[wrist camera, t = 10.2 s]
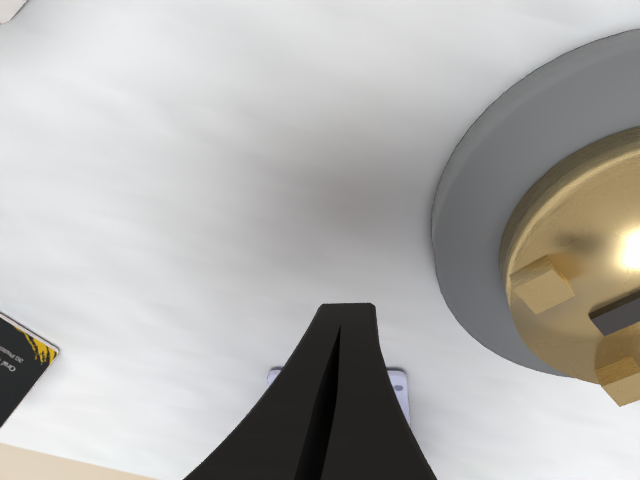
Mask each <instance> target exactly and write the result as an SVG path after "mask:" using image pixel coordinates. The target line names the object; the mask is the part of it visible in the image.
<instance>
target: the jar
mask: <svg viewBox="0 0 640 480" xmlns="http://www.w3.org/2000/svg"><path fill="white" fill-rule="evenodd" d="M26 1H27V0H0V24H2V23H6V22H8V21H10V19H11V18H12V17H13V16H14V15H15V14H16V13H17V12H18V10H19V9H20V8H21V7H22V6H23V5H24V4H25V3H26Z"/></svg>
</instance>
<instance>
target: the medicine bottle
mask: <svg viewBox="0 0 640 480" xmlns="http://www.w3.org/2000/svg"><path fill="white" fill-rule="evenodd" d="M58 353H59V351H58V349H57V348H56V347H54V346H53V345H51V344H49V343H48V342H46V341H44V340H43V339H41V338H40V337H38V336H36V335H35V334H33V333H31V332H30V331H28V330H27V329H25V328H23V327H22V326H20V325H18V324H17V323H15V322H13V321H12V320H10V319H9V318H7V317H5V316H4V315H2V314H0V429H1V428H2V427H3V425H4V424H5V423H6V422H7V420H8V419H9V418H10V416H11V415H12V414H13V413H14V411H15V410H16V409H17V407H18V406H19V405H20V404H21V402H22V401H23V400H24V398H25V397H26V396H27V395H28V393H29V392H30V391H31V389H32V388H33V387H34V386H35V384H36V383H37V382H38V380H39V379H40V378H41V377H42V375H43V374H44V373H45V371H46V370H47V369H48V368H49V366H50V365H51V364H52V362H53V361H54V360H55V359H56V357H57V356H58Z"/></svg>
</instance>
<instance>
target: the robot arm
mask: <svg viewBox="0 0 640 480" xmlns="http://www.w3.org/2000/svg"><path fill="white" fill-rule="evenodd" d="M267 380H268V384H269V388H268V389H267V390H266V392H265V393H264V394H263V396H262V397H261V398H260V400H259V401H258V402H257V403H256V405H255V406H254V407H253V408H252V409H251V411H250V412H249V413H248V414H247V415H246V417H245V418H244V419H243V420H242V421H241V422H240V423H239V425H238V426H237V427H236V428H235V429H234V430H233V431H232V432H231V433H230V434H229V435H228V436H227V438H226V439H225V440H224V441H223V442H222V443H221V444H220V445H219V446H218V447H217V448H216V449H215V450H214V451H213V452H212V453H211V454H210V455H209V456H208V457H207V458H206V459H205V460H204V461H203V462H202V463H201V464H200V465H199V466H198V467H196V468H195V469H194V470H193V471H192V472H191V473H190V474H189V475H188V476H186V477H185V478H184V479H183V480H437V478H436V476H435V475H434V473H433V471H432V469H431V468H430V466H429V464H428V462H427V460H426V459H425V457H424V455H423V453H422V451H421V449H420V447H419V445H418V443H417V441H416V439H415V437H414V435H413V433H412V431H411V429H410V416H409V401H408V386H407V376H406V374H405V373H403V372H401V371H387V369H386V366H385V362H384V359H383V356H382V353H381V349H380V345H379V336H378V327H377V318H376V308H375V306H374V305H373V304H371V303H338V304H322V305H321V306H320V307H319V308H318V310H317V312H316V314H315V316H314V318H313V320H312V322H311V323H310V325H309V327H308V329H307V331H306V332H305V334H304V336H303V337H302V339H301V341H300V342H299V344H298V345H297V347H296V349H295V350H294V352H293V353H292V355H291V356H290V358H289V359H288V361H287V362H286V364H285V366H284V367H283V368H282V370H272V371H270V372H269V374H268V377H267Z"/></svg>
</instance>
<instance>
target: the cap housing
mask: <svg viewBox="0 0 640 480" xmlns="http://www.w3.org/2000/svg"><path fill="white" fill-rule="evenodd" d="M639 126H640V29H636V30H631V31H626V32H623V33H620V34H616V35H613V36H610V37H606V38H603V39H600V40H596V41H594V42H591V43H589V44H587V45H584V46H582V47H580V48H577V49H575V50H572V51H570V52H568V53H565V54H563V55H562V56H560V57H558V58H556V59H554V60H553V61H551V62H549V63H547V64H545V65H544V66H542V67H540V68H538V69H536V70H535V71H533V72H532V73H531V74H529V75H528V76H526V77H525V78H524V79H522V80H521V81H519V82H518V83H516V84H515V85H514V86H512V87H511V88H510V89H509V90H507V91H506V92H505V93H504V94H503V95H502V96H501V97H499V98H498V99H497V100H496V101H495V102H494V103H493V104H491V105H490V106H489V107H488V108H487V109H486V110H485V112H484V113H483V114H482V115H481V116H480V117H479V118H478V119H477V120H476V122H475V123H474V124H473V125H472V126H471V127H470V128H469V130H468V131H467V133H466V134H465V135H464V137H463V138H462V140H461V141H460V143H459V144H458V145H457V147H456V148H455V150H454V152H453V154H452V156H451V158H450V159H449V161H448V163H447V165H446V167H445V169H444V171H443V174H442V177H441V179H440V182H439V185H438V187H437V190H436V195H435V200H434V204H433V209H432V224H431V232H432V242H433V251H434V260H435V270H436V276H437V280H438V283H439V287H440V290H441V293H442V295H443V297H444V299H445V302H446V304H447V306H448V308H449V309H450V311H451V312H452V314H453V315H454V317H455V318H456V320H457V321H458V322H459V324H460V325H461V326H462V327H463V328H464V329H465V330H466V331H467V332H468V333H469V334H470V335H471V336H472V337H473V338H475V339H476V340H477V341H478V342H479V343H481V344H482V345H483V346H484V347H486V348H488V349H489V350H491V351H493V352H494V353H496V354H497V355H499V356H501V357H503V358H505V359H507V360H509V361H512V362H514V363H516V364H518V365H521V366H524V367H527V368H530V369H533V370H536V371H540V372H544V373H548V374H553V375H557V376H564V377H571V378H574V377H572V376H569V375H566V374H564V373H562V372H560V371H558V370H556V369H554V368H552V367H551V366H549V365H548V364H546V363H545V362H543V361H542V360H540V359H539V358H538V357H537V356H536V355H535V354H534V353H533V352H532V351H531V350H530V349H529V348H528V347H527V345H526V344H525V343H524V342H523V340H522V339H521V337H520V335H519V333H518V332H517V330H516V327H515V324H514V321H513V318H512V315H511V311H510V308H509V304H508V301H507V297H506V294H505V291H504V287H503V284H502V280H501V277H500V270H499V249H500V244H501V238H502V235H503V232H504V230H505V227H506V224H507V222H508V220H509V218H510V216H511V214H512V213H513V211H514V209H515V207H516V206H517V205H518V203H519V202H520V200H521V199H522V198H523V196H524V195H525V194H526V193H527V192H528V190H529V189H530V188H531V187H532V186H533V185H534V184H535V183H536V182H537V181H538V180H539V179H540V178H541V177H542V176H543V175H544V174H546V173H547V172H548V171H549V170H550V169H551V168H553V167H554V166H555V165H557V164H558V163H560V162H561V161H562V160H564V159H565V158H567V157H568V156H570V155H571V154H573V153H575V152H577V151H578V150H580V149H582V148H584V147H586V146H587V145H589V144H591V143H594V142H596V141H598V140H600V139H603V138H605V137H607V136H610V135H613V134H616V133H619V132H622V131H625V130H628V129H631V128H635V127H639Z"/></svg>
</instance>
